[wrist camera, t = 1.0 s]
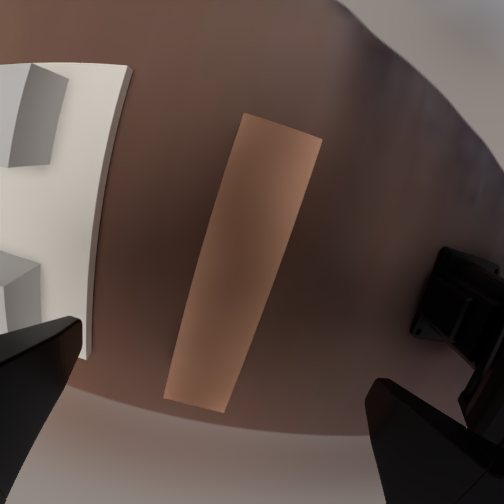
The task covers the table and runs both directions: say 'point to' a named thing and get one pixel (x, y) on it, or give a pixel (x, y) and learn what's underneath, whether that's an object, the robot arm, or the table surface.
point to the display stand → (54, 187)
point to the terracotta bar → (239, 259)
